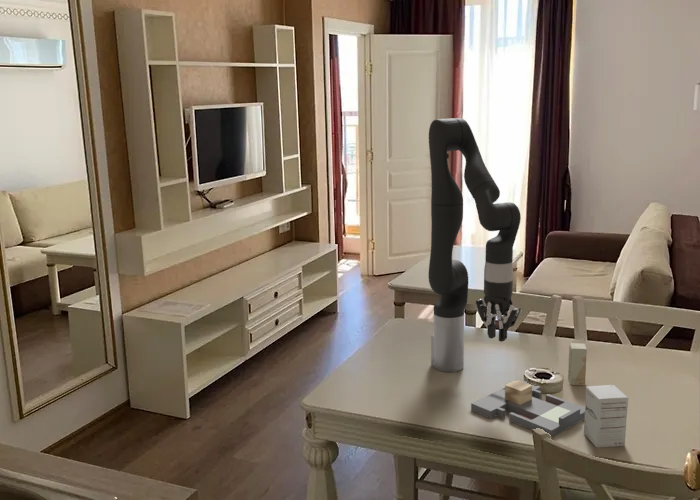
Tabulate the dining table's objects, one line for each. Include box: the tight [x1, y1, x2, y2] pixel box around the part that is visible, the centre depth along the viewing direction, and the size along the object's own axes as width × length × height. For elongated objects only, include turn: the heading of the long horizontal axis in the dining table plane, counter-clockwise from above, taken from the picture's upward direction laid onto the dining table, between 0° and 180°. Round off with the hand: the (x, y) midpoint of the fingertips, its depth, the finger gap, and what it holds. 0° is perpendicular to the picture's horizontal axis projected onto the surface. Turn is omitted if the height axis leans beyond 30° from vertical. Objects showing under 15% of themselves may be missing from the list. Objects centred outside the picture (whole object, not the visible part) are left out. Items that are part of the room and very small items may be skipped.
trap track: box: [470, 379, 585, 438], centre depth 182 cm, size 23×22×4 cm
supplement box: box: [583, 384, 629, 448], centre depth 166 cm, size 7×7×13 cm
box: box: [567, 342, 588, 386], centre depth 199 cm, size 5×4×11 cm
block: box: [504, 379, 532, 405], centre depth 185 cm, size 5×5×4 cm
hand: (497, 338), depth 188 cm, fingers open, 3 cm apart
